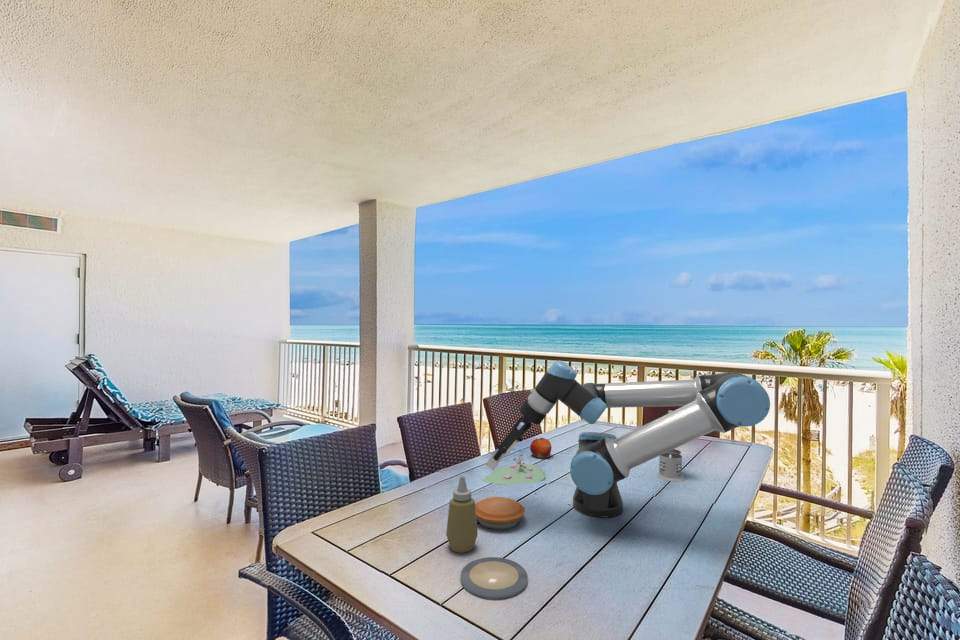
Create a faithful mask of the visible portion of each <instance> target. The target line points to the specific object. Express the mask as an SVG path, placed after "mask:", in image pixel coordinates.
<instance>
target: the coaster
mask: <svg viewBox="0 0 960 640" xmlns="http://www.w3.org/2000/svg"><path fill="white" fill-rule="evenodd" d="M527 573H528V572H527V571H526V569H525V568H524V567H523V566H522V565H521V564H519V563H518V562H516V561H514V560H512V559H510V558H509V559H507V558H504V557H493V556H491V557H490V556H489V557H488V556H487V557H482V558H477V559H475V560H472V561H470V562H469V563H467V564H466V565H465V566H463V568H462V569H461V571H460V583H461V586H462V588H463V589H464V590H465V591H466V592H468V593H469V594H471V595H472V596H476V597H477V598H481V599H484V600H485V599H486V600H497V601H498V600H504V599H505V600H506V599H510V598H513V597H515V596H517V595H519V594H521V593H522V592H523V591H524V590H525V589H526V588H527V586H528V581H529V580H528V578H529V577H528V574H527Z"/></svg>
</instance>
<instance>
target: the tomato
mask: <svg viewBox="0 0 960 640" xmlns="http://www.w3.org/2000/svg"><path fill="white" fill-rule="evenodd" d="M552 447H553V446H552V443H551V441H550V440H548V438H544V437H540V438H535V439H532V441H531V442H530V446H529V450H530V452H531V454H532V455H533V456H535V457H536V458H538V459H546V458H548V457H550V455H551V453H552Z"/></svg>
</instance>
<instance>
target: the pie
mask: <svg viewBox="0 0 960 640" xmlns="http://www.w3.org/2000/svg"><path fill="white" fill-rule="evenodd" d="M475 510H476V520H478V522H479V524H480V525H482V527H485V528H488V529H491V530H497V531H499V530H501V531H502V530H508V529H512V528H513V527H516V525H518V523H519V522H520V520H521V518H523V517H524V515H525V513H526V507H524V505H523V504H521V502H519V501H517V500H515V499H512V498H509V497H503V496H502V497H500V496H492V497H491V496H490V497H486V498H483V499H481V500H479V501H477V502H475Z"/></svg>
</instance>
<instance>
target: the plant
mask: <svg viewBox="0 0 960 640" xmlns="http://www.w3.org/2000/svg"><path fill="white" fill-rule="evenodd" d="M523 456H524V453H522V450H519V455H518V458H515V457H514V459H512V460H513V461H515V463H512V464H511V465H506V466H502V467H500V468H497V469H496V470H493V471H492V472H491V473H489V474H488V475H487V476H485V477H484V478H483V479H482V481H483V482H484V483H489V484H493V485H500V486H510V485H521V484H522V485H523V484H534V483H539V482H542V481H544V480H545V479H546V478H547V477H546V472H545V471H544V469H543V468H541V467H540V466H538V465H535V464H532V463H526V462H523V461H525V458H523ZM522 458H523V459H522Z"/></svg>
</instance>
